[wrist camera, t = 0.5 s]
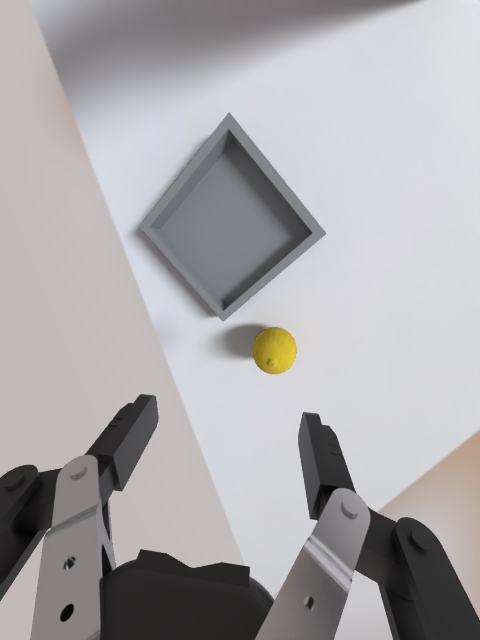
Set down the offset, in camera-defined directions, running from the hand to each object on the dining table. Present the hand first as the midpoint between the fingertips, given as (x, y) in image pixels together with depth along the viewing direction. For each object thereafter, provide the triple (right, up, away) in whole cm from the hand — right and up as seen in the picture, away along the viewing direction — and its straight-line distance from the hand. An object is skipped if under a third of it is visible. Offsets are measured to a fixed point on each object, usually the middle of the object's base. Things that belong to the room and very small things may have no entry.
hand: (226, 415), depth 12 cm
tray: (0, +17, +18) cm, 24 cm away
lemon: (+6, +2, +21) cm, 22 cm away
